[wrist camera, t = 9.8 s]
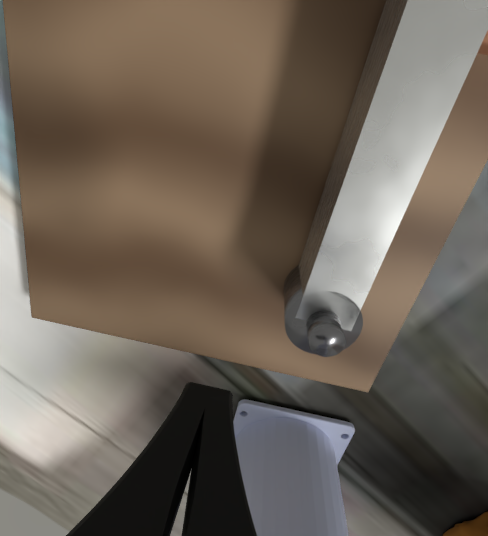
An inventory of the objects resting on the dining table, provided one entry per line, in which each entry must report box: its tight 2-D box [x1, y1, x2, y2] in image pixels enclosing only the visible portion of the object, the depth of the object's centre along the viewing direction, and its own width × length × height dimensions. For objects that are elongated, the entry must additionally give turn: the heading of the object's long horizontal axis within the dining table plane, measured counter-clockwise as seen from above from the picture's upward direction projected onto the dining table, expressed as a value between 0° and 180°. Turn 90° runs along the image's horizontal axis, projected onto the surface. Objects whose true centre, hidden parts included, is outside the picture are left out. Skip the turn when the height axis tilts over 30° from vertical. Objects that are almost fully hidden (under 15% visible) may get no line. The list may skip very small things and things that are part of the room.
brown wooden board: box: [3, 0, 488, 392], centre depth 14 cm, size 21×20×4 cm
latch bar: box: [283, 0, 488, 357], centre depth 12 cm, size 15×3×4 cm, turn 167°
